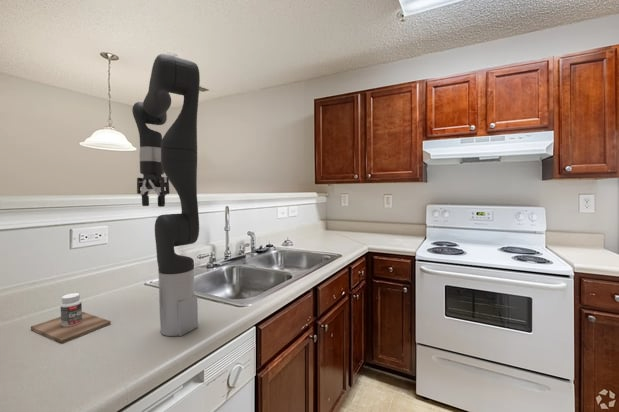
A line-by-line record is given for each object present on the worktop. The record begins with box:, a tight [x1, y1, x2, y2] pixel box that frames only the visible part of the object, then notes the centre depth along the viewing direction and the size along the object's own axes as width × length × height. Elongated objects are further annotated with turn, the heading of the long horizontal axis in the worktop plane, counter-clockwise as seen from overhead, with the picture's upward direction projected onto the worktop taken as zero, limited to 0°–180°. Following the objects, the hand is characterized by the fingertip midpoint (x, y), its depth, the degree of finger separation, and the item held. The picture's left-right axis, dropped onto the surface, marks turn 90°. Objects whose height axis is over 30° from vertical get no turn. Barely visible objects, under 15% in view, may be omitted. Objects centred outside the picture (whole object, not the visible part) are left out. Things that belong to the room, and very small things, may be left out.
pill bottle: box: [60, 292, 83, 327], centre depth 84 cm, size 5×5×8 cm
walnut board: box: [30, 311, 112, 344], centre depth 84 cm, size 17×12×1 cm
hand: (153, 206), depth 103 cm, fingers open, 8 cm apart
